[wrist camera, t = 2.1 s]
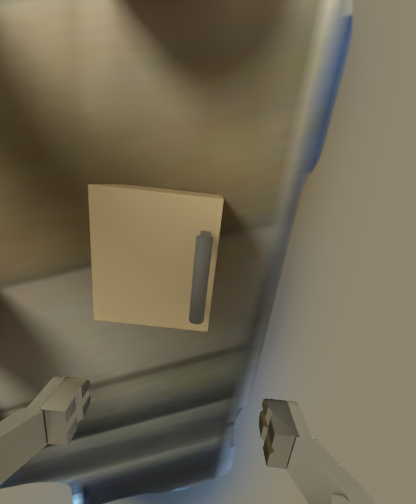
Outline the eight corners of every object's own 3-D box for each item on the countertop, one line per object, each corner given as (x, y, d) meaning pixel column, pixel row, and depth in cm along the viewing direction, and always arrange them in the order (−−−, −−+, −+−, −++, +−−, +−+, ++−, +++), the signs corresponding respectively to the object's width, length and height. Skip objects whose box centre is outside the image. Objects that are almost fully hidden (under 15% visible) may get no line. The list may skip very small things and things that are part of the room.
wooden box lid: (91, 184, 24) (64, 184, 19) (223, 198, 24) (225, 201, 19) (97, 316, 28) (75, 340, 24) (207, 327, 28) (206, 354, 24)
